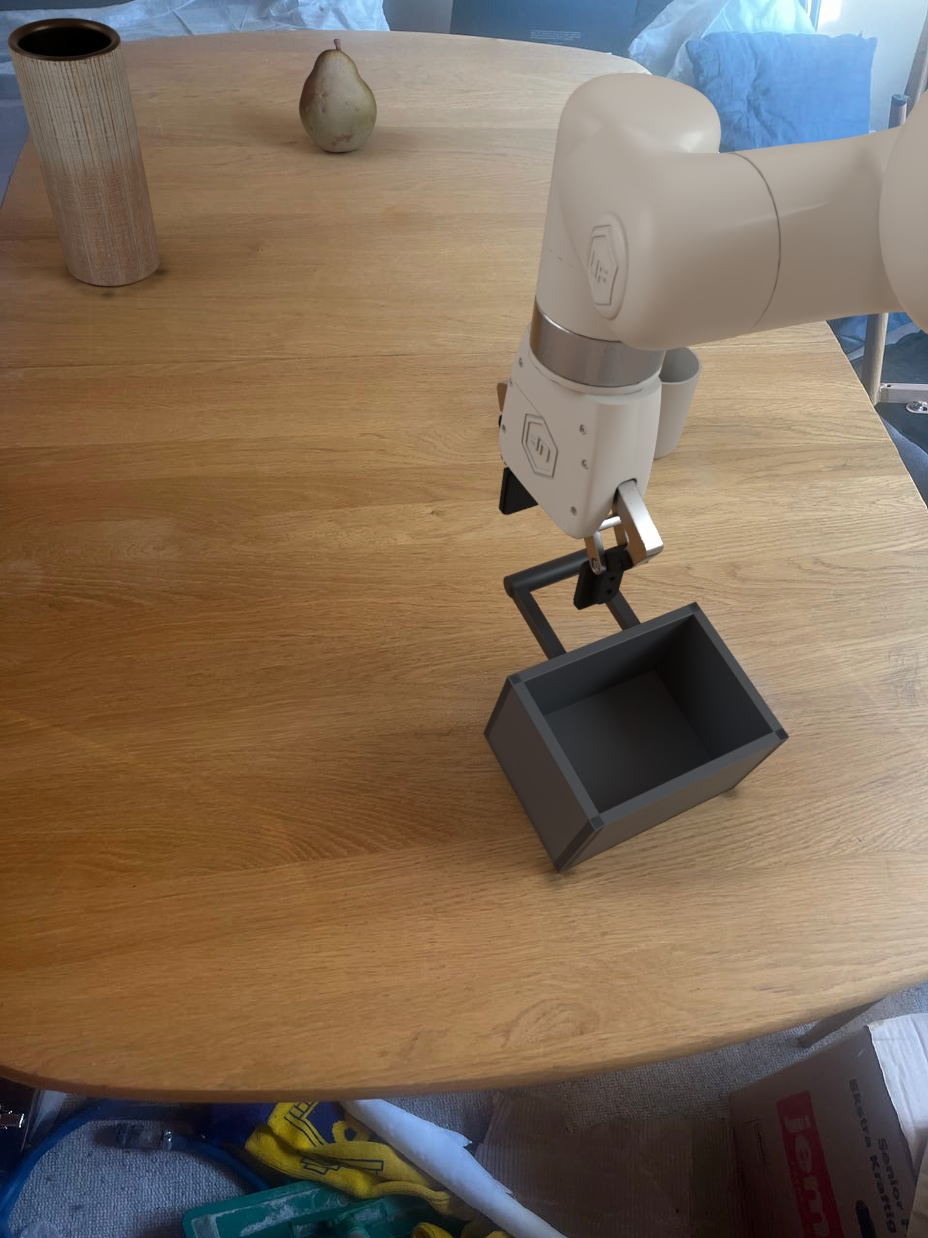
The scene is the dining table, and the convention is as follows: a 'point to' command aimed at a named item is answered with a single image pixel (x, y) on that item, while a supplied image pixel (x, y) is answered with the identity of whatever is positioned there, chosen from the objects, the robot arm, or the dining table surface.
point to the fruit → (337, 103)
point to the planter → (87, 147)
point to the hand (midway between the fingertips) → (555, 552)
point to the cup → (675, 396)
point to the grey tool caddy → (623, 723)
